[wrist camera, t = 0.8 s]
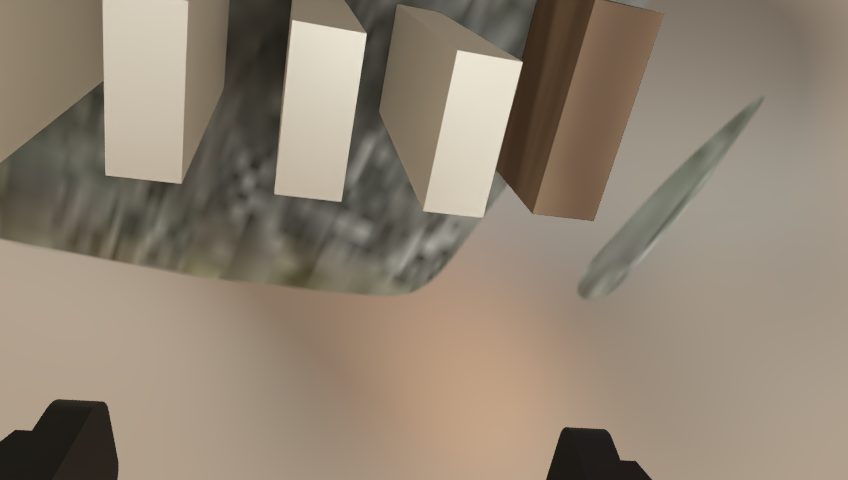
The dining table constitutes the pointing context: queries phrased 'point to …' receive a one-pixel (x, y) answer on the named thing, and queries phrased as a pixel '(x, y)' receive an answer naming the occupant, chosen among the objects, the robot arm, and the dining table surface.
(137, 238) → the dining table surface
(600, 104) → the block
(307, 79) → the domino
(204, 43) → the domino
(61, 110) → the domino
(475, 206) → the domino
